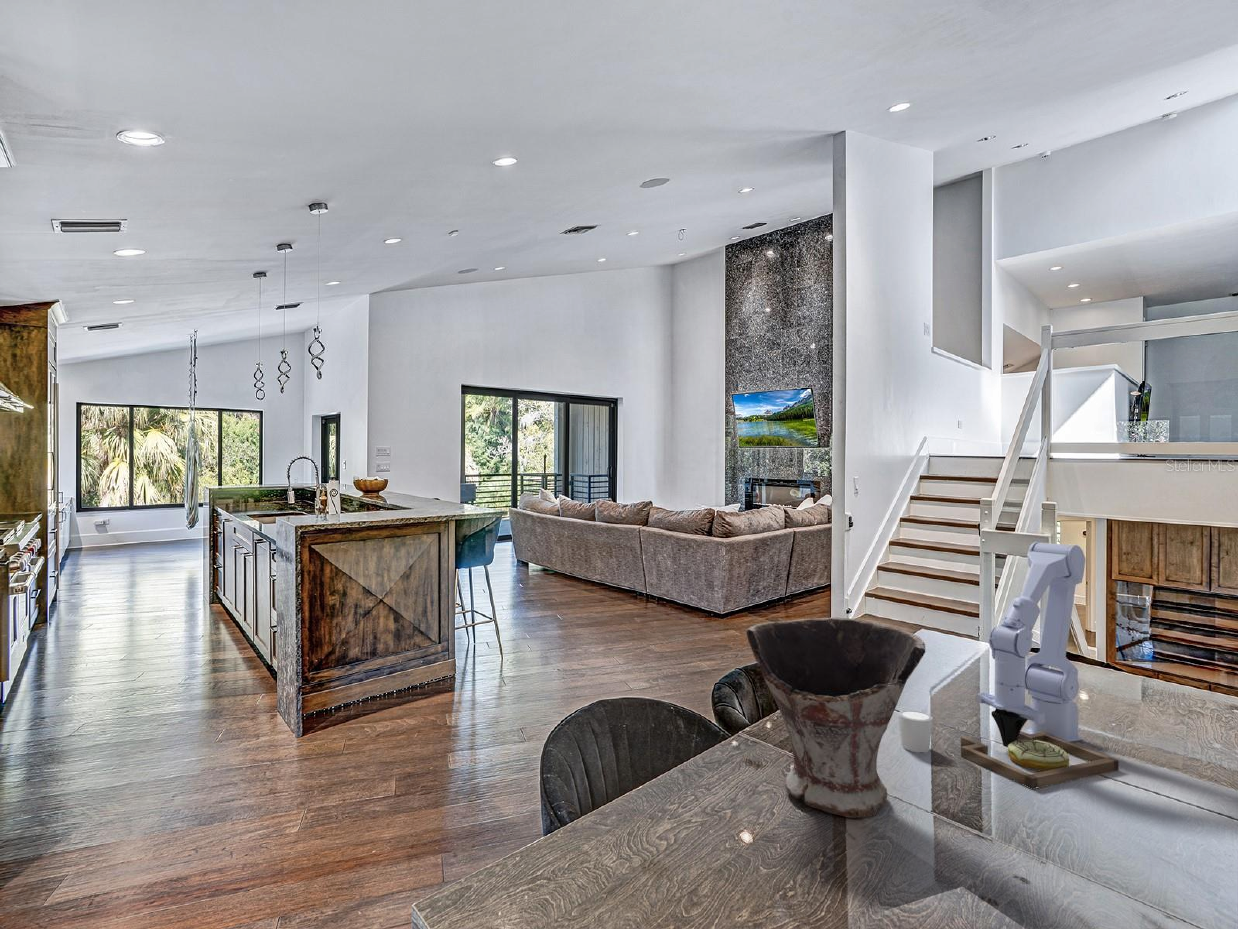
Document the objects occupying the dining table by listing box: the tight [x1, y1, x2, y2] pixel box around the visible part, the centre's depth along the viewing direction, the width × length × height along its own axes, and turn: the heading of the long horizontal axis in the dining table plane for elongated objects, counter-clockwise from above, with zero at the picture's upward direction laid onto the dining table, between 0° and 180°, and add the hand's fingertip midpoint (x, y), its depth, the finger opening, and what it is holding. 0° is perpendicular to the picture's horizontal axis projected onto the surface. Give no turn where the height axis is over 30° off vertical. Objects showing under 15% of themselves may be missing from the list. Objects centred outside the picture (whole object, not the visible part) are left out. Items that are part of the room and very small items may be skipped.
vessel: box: [746, 617, 926, 819], centre depth 125 cm, size 30×27×30 cm
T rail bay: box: [960, 730, 1120, 790], centre depth 142 cm, size 20×25×2 cm
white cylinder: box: [898, 709, 934, 754], centre depth 147 cm, size 7×7×7 cm
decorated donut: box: [1007, 739, 1070, 772], centre depth 140 cm, size 10×11×4 cm
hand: (1009, 746), depth 146 cm, fingers closed
